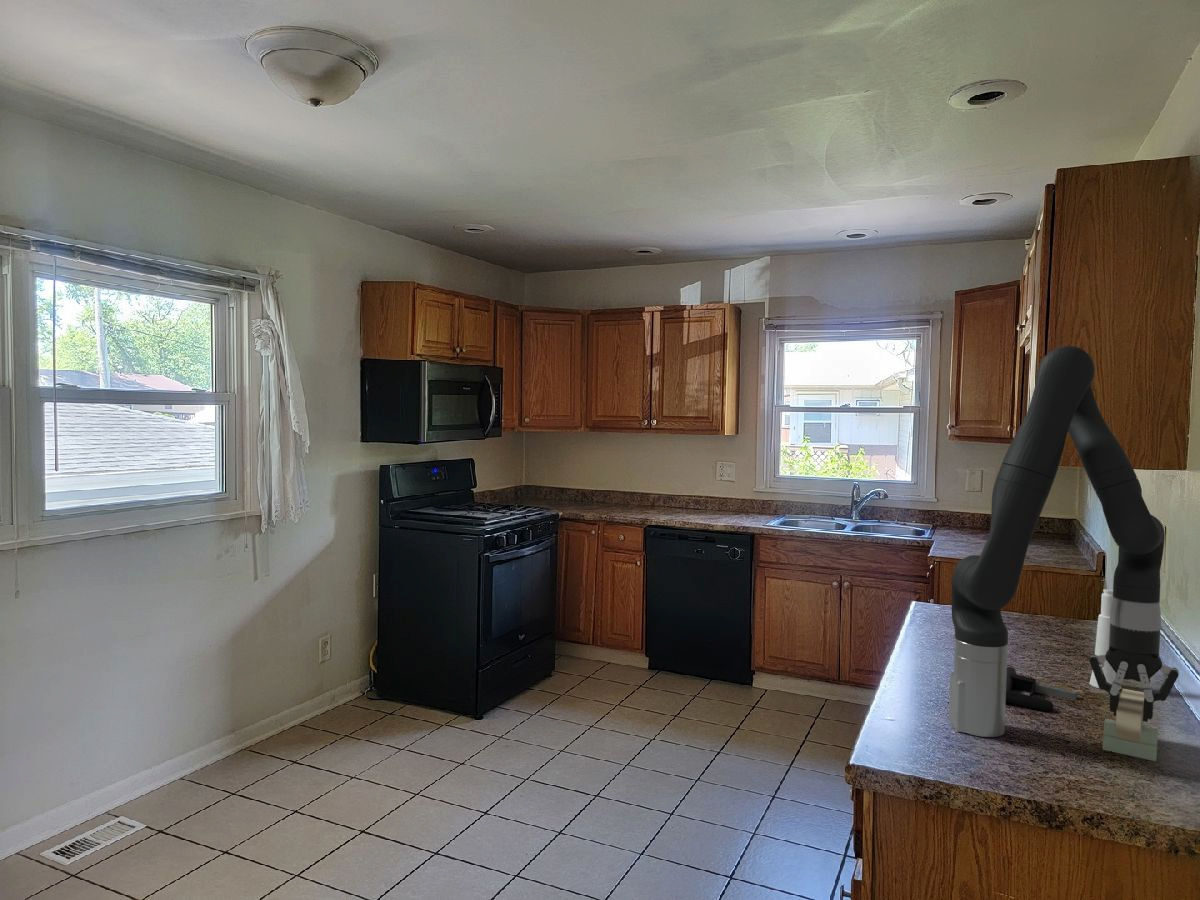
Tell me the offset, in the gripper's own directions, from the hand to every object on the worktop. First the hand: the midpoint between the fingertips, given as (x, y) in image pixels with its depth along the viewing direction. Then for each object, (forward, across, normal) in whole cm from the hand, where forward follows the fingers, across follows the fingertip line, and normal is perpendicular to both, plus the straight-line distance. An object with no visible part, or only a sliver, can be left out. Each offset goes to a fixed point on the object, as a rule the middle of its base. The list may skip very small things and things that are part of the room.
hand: (1130, 717), depth 142 cm
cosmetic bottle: (+6, -6, +39) cm, 40 cm away
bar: (+2, 0, 0) cm, 2 cm away
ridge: (+6, 0, 0) cm, 6 cm away
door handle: (+7, -18, +21) cm, 29 cm away
